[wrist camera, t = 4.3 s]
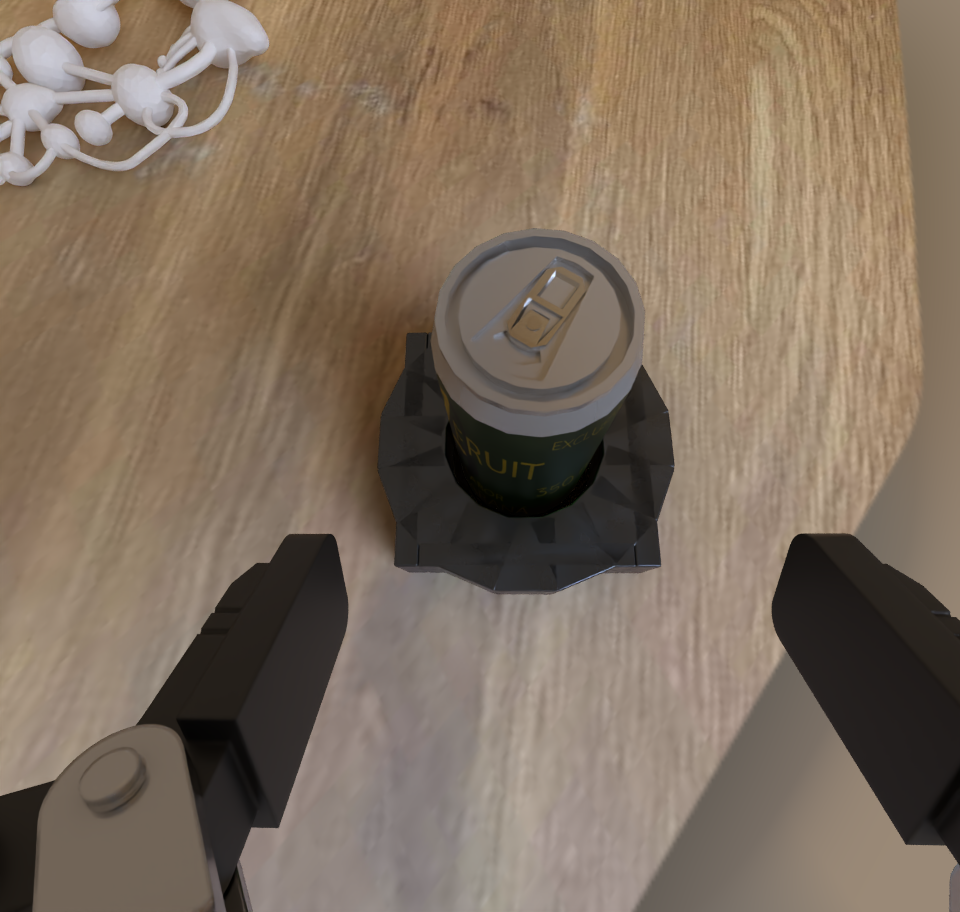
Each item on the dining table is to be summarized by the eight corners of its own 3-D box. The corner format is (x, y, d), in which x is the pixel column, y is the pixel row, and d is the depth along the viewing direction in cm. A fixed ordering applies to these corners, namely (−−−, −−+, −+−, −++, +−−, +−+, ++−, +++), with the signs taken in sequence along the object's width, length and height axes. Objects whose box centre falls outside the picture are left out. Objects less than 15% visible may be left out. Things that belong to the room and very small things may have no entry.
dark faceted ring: (640, 344, 25) (658, 309, 22) (664, 595, 21) (689, 592, 19) (400, 348, 25) (387, 314, 23) (386, 593, 22) (368, 590, 19)
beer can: (505, 386, 25) (507, 187, 13) (602, 446, 23) (697, 285, 12) (439, 476, 23) (378, 343, 12) (538, 543, 22) (576, 468, 11)
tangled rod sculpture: (7, 269, 29) (-71, 221, 25) (-63, 89, 32) (-143, 21, 28) (312, 123, 31) (285, 56, 27) (220, -36, 34) (182, -118, 30)
